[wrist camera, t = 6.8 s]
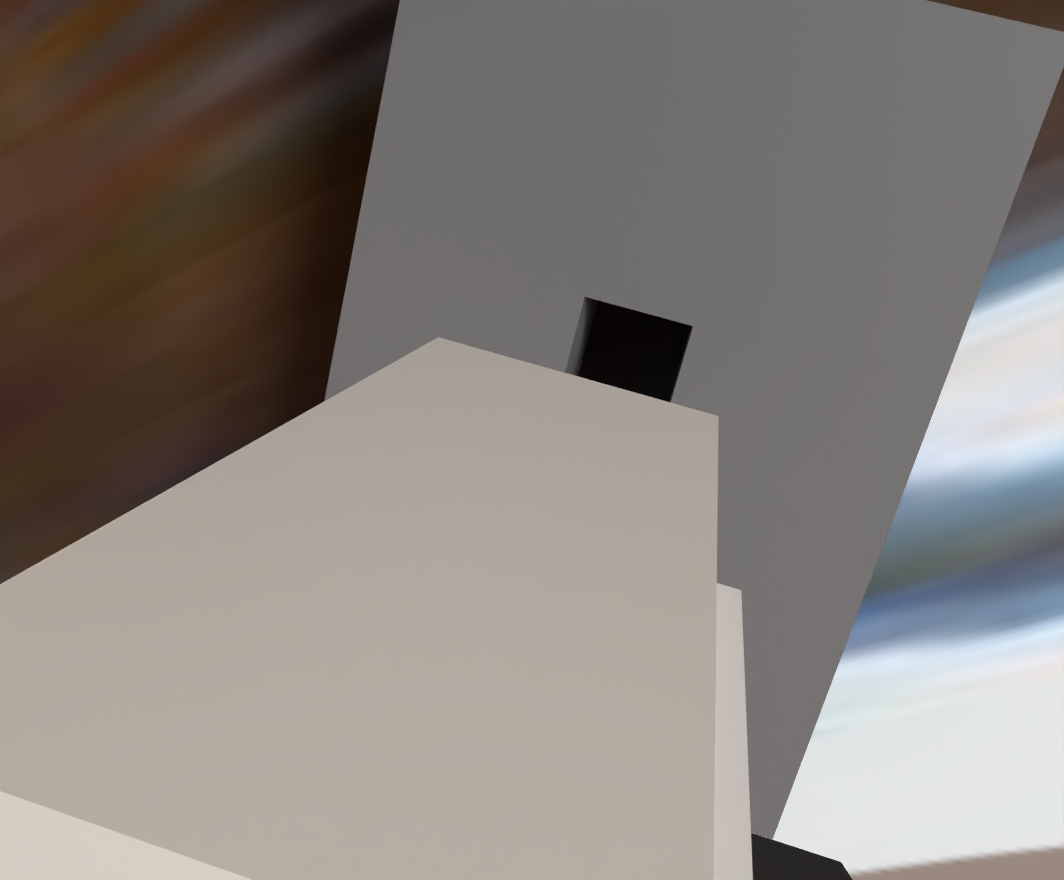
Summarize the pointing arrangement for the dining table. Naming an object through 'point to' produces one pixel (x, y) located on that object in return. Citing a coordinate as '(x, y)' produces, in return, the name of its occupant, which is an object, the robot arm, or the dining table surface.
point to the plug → (384, 648)
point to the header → (715, 252)
